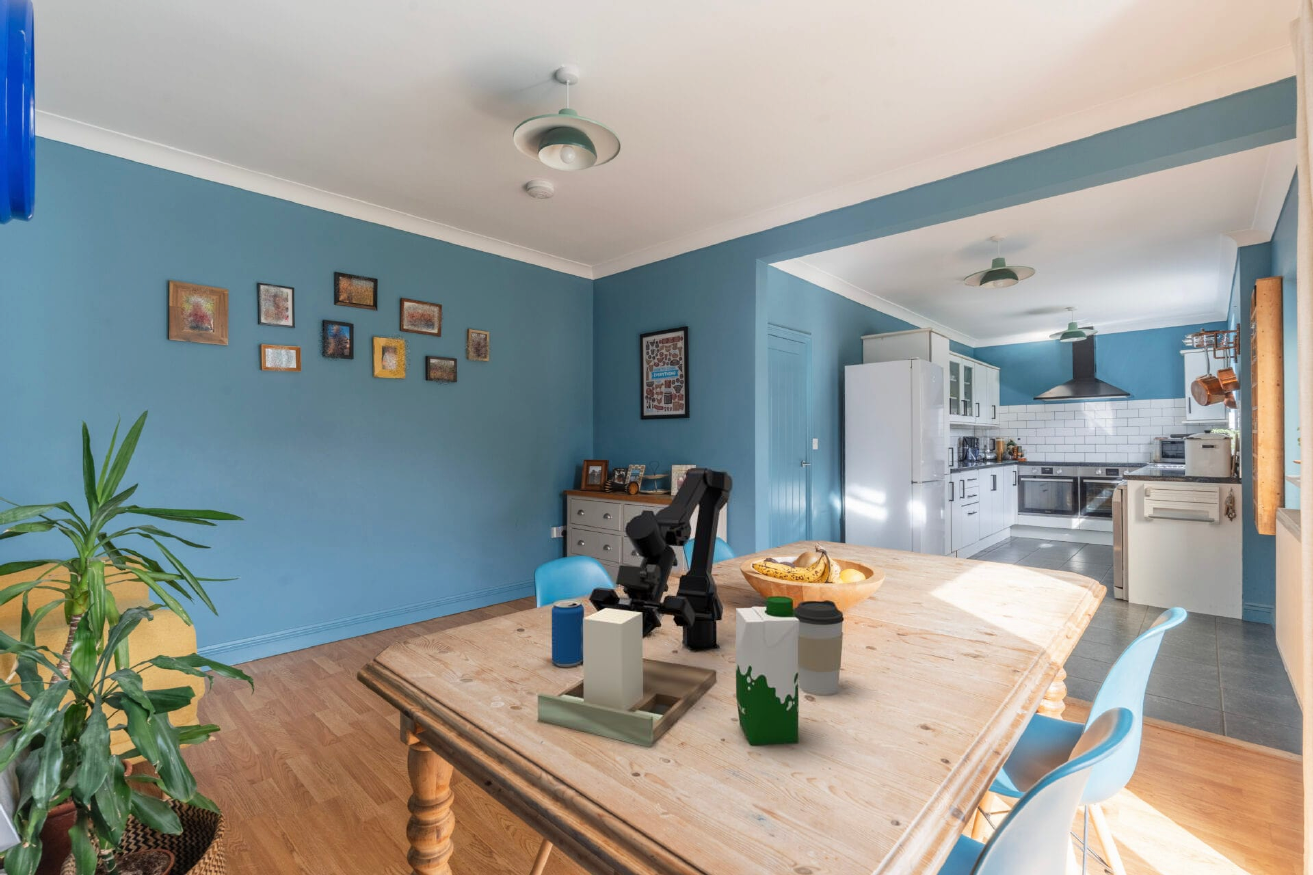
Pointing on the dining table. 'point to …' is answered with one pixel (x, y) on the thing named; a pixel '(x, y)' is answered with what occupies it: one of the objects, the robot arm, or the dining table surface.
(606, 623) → the cream block
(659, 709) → the tray
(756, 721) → the milk carton
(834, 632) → the coffee cup
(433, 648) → the dining table surface
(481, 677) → the dining table surface
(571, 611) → the beverage can
